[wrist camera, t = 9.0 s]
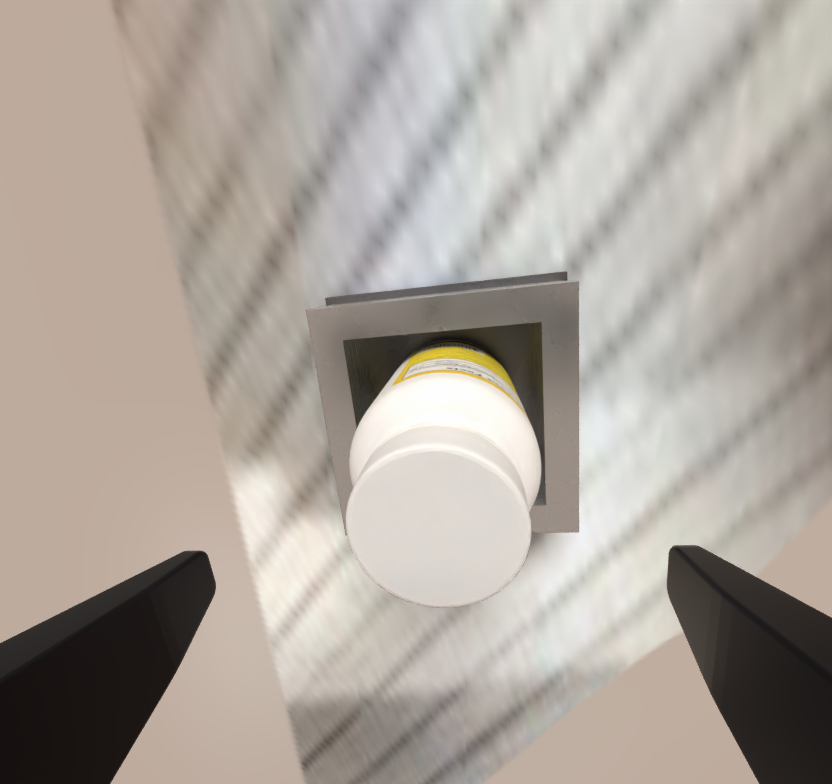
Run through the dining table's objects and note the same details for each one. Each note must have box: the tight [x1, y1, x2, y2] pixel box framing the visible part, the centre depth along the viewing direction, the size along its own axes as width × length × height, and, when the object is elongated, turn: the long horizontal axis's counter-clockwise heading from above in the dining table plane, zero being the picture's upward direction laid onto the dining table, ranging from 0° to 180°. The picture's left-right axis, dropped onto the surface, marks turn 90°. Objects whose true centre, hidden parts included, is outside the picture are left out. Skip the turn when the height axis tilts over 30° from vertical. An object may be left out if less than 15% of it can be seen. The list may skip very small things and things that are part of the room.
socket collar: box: [306, 272, 579, 535], centre depth 17 cm, size 10×10×4 cm
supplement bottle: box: [346, 340, 541, 608], centre depth 13 cm, size 5×5×10 cm
